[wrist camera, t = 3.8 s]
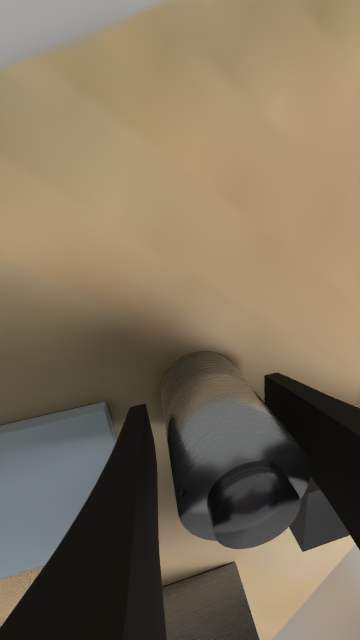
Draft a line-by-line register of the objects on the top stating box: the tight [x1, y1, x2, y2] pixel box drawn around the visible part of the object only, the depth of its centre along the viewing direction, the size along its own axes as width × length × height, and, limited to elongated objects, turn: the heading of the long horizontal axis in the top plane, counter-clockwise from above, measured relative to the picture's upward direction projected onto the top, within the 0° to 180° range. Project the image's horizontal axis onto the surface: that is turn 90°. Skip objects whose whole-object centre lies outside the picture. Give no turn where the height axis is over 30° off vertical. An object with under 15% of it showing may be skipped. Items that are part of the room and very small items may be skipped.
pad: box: [0, 401, 117, 579], centre depth 11 cm, size 9×9×1 cm
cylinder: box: [160, 351, 311, 549], centre depth 8 cm, size 4×4×6 cm
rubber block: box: [289, 477, 350, 552], centre depth 11 cm, size 4×4×4 cm
